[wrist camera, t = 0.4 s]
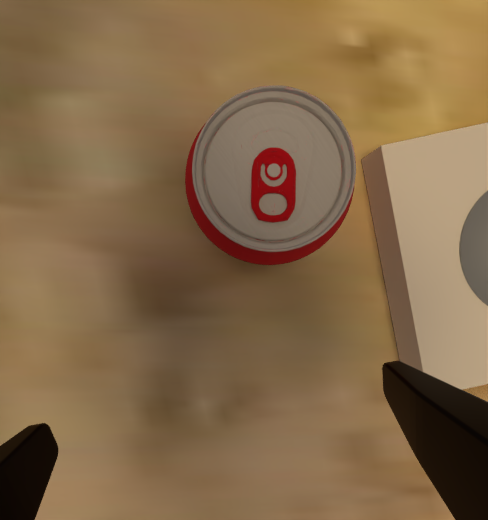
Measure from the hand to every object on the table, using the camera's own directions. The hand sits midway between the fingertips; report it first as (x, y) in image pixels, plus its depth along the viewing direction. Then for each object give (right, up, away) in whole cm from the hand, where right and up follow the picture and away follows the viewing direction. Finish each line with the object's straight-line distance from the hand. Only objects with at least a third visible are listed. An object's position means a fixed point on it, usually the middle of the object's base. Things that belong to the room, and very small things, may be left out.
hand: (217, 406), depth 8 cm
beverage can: (+2, +7, +14) cm, 16 cm away
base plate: (+18, +5, +14) cm, 23 cm away
